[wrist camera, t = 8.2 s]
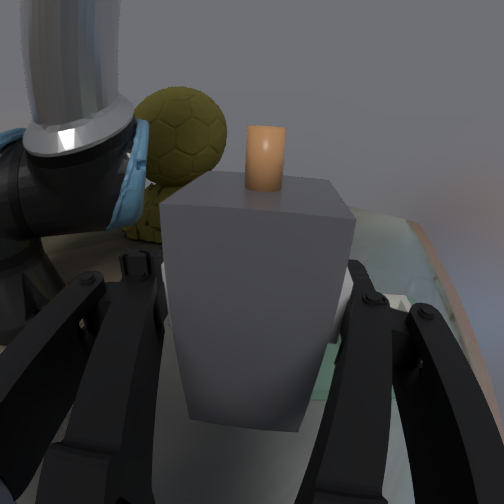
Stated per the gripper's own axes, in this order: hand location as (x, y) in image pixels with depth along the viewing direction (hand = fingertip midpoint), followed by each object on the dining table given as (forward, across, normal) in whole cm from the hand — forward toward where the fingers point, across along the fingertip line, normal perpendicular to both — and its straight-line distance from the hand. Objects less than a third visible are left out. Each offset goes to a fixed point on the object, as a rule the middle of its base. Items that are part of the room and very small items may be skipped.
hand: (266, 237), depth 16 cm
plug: (-5, 0, -6) cm, 8 cm away
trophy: (+41, -21, -16) cm, 49 cm away
